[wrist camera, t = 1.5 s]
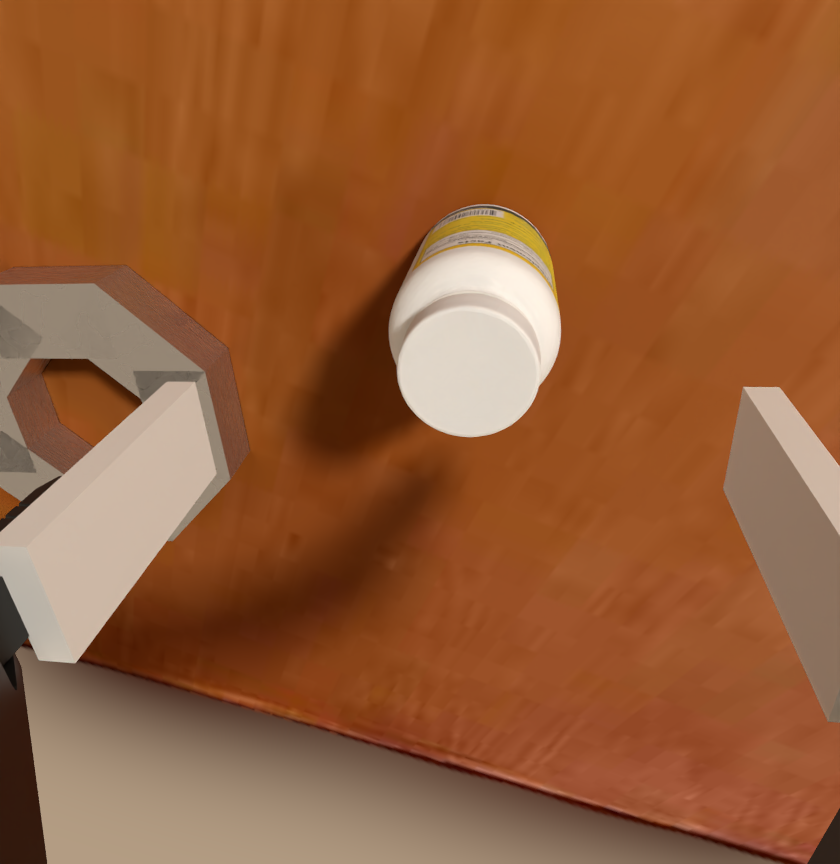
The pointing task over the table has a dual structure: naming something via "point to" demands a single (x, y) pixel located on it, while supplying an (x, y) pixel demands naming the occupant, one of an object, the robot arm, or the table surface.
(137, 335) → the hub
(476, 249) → the supplement bottle
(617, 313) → the table surface
